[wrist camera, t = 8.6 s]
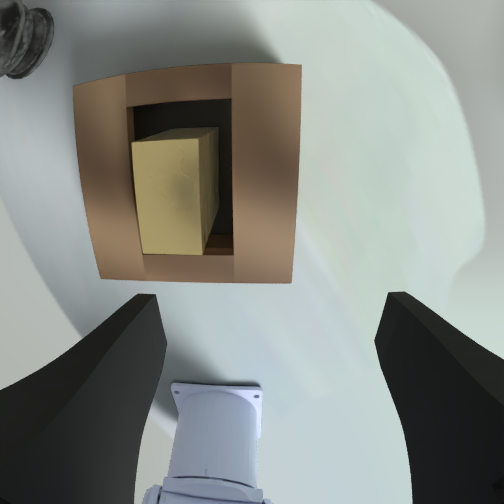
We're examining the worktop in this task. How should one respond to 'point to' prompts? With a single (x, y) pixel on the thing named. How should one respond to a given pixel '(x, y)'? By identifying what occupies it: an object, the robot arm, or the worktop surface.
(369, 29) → the worktop surface
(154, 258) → the walnut box
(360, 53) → the worktop surface
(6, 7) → the salt shaker
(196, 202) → the block
